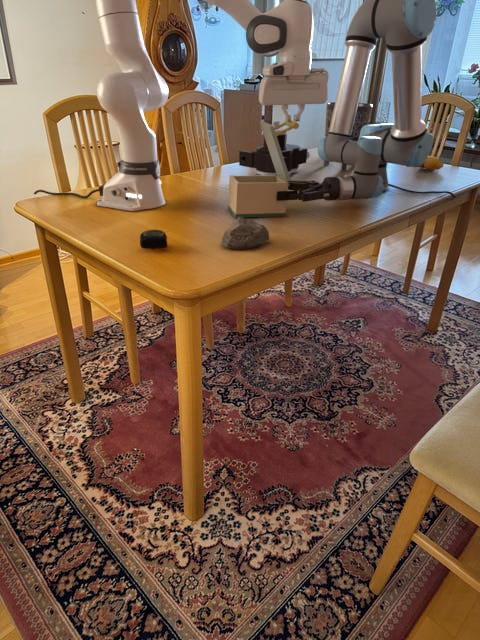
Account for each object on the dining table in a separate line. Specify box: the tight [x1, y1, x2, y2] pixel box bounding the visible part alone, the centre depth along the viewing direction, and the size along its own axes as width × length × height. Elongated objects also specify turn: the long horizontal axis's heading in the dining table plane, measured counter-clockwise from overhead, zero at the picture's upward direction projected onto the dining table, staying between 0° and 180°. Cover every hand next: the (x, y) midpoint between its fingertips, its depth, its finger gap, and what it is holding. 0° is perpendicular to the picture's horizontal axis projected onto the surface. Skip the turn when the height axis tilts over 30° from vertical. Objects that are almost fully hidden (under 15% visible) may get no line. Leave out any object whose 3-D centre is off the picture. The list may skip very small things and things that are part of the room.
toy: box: [418, 155, 445, 172], centre depth 208 cm, size 11×6×15 cm
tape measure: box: [139, 229, 168, 250], centre depth 117 cm, size 7×7×4 cm
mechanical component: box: [238, 120, 311, 179], centre depth 191 cm, size 22×21×30 cm
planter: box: [323, 101, 374, 172], centre depth 204 cm, size 20×20×26 cm
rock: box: [221, 217, 270, 250], centre depth 119 cm, size 13×9×6 cm, turn 131°
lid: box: [259, 120, 300, 181], centre depth 138 cm, size 17×10×9 cm
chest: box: [227, 175, 289, 219], centre depth 144 cm, size 16×10×10 cm, turn 105°
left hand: (292, 121), depth 135 cm, fingers closed
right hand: (272, 191), depth 144 cm, fingers closed on chest, 10 cm apart
